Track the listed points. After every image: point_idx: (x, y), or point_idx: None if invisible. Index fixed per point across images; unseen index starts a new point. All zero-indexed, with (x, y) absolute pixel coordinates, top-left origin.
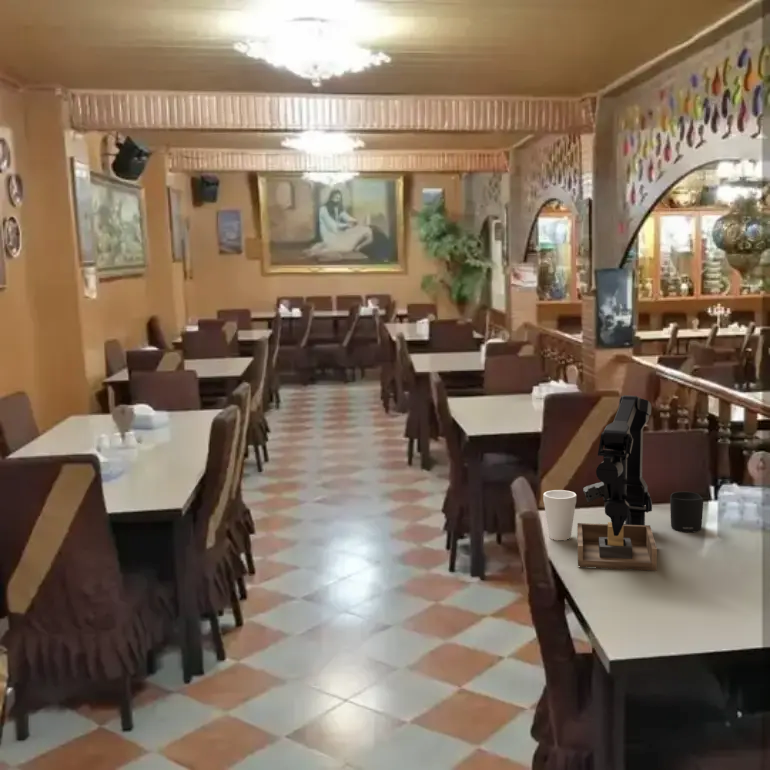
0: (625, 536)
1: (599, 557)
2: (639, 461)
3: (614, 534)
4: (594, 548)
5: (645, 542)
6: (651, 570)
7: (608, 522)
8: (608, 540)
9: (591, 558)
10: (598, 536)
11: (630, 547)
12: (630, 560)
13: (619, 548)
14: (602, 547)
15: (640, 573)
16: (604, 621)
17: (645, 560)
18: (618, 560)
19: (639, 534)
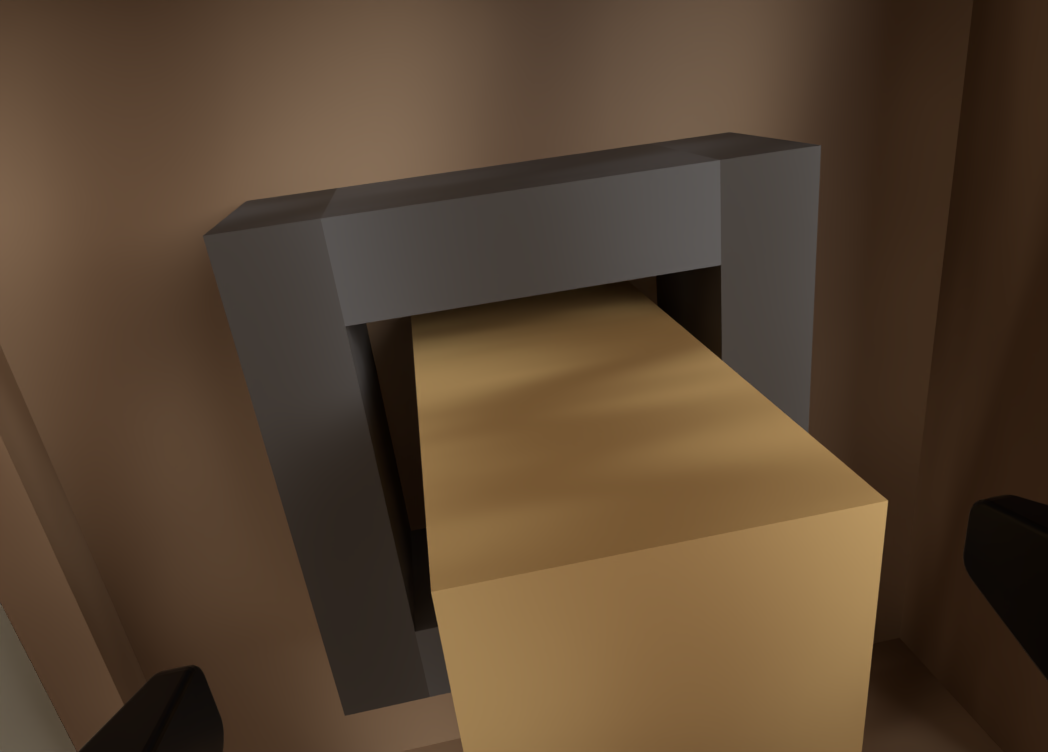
0: (986, 493)
1: (242, 198)
2: None
3: (138, 701)
4: (661, 70)
5: (910, 645)
6: None
7: (865, 522)
8: (417, 405)
9: (141, 67)
10: (1032, 106)
11: (365, 690)
12: (282, 595)
13: (302, 551)
14: (223, 286)
15: (7, 700)
16: None
17: (342, 726)
18: (37, 520)
19: (986, 662)
